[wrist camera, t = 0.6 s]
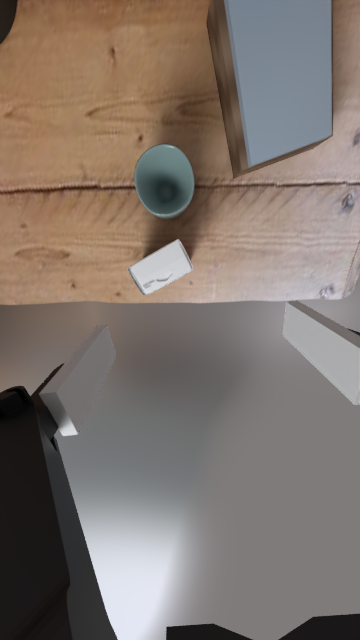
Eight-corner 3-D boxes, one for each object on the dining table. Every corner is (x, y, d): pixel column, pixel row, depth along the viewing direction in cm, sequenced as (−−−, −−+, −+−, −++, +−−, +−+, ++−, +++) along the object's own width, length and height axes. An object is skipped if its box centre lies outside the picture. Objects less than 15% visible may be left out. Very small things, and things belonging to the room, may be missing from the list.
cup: (137, 180, 33) (122, 159, 24) (181, 160, 32) (182, 130, 23) (156, 227, 36) (149, 225, 27) (196, 211, 35) (202, 202, 26)
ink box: (179, 236, 36) (179, 237, 26) (191, 261, 38) (196, 271, 27) (140, 259, 38) (125, 269, 27) (153, 281, 40) (144, 299, 29)
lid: (220, -21, 22) (230, -79, 18) (322, -72, 20) (358, -147, 16) (248, 167, 29) (260, 156, 25) (325, 138, 27) (351, 121, 23)
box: (206, 23, 26) (212, -17, 22) (306, -24, 24) (332, -77, 20) (233, 178, 33) (241, 170, 29) (312, 148, 31) (333, 135, 27)
